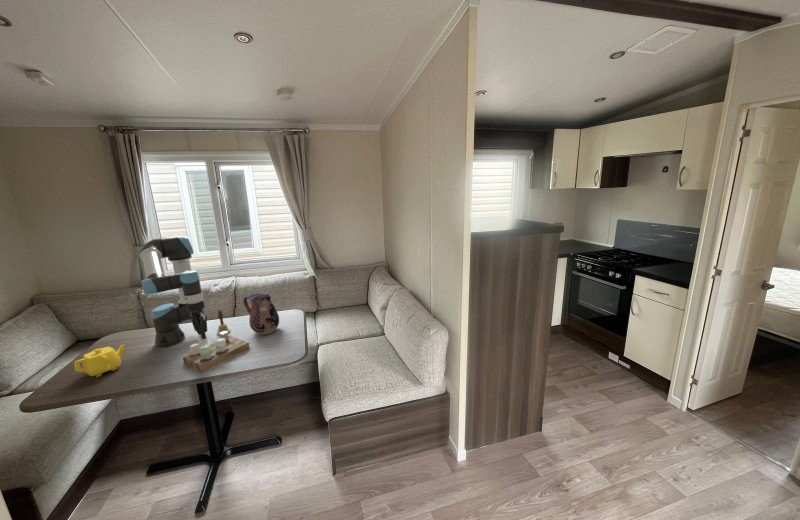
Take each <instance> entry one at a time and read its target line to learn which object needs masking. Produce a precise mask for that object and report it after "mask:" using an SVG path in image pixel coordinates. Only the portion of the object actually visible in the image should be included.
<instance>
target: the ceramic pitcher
mask: <svg viewBox="0 0 800 520" xmlns="http://www.w3.org/2000/svg"><path fill="white" fill-rule="evenodd" d="M269 293H270V292H268V291H267V292H259V293H255V294H251V295H250V294H249V295H246V296H244V298H243V301H242V302H243V305H244V307H245V309H246V311H247V312H248V313H249V317H248V318H249V319H248V321H249V326H250V329H251V330H252V331H253V332H254V333H256V334H257V335H259V336H260V335H261V336H262V335H264V336H265V335H269V334H272V333H273V332H275V331H276V329H277V328H278V327H279V324H280V315H279V313H278V311H277V309H276V307H275V306H274V304H273V302H272V300H271V295H269ZM248 300H249V301H250V302H251V307H250V306H249V303H248Z"/></svg>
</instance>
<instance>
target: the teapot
mask: <svg viewBox="0 0 800 520" xmlns="http://www.w3.org/2000/svg"><path fill="white" fill-rule="evenodd" d="M125 347H126V344H121V345H120V346H119V348H118V349H117V351H116V350H115V349H114V348H113V347H111V346H105V347H100V348H96V349H93V350H91V351H90V352H88V353H86V354H85V353H84V355H83V358H81V359H77V360H74V371H75V372H81V373H86V375H88V376H91V377H95V376H96V377H95V378H99V376H100V377H102V376H103V373H106V372H108V371H111V372H113V371H117V370H118V367H119V366H121V364H122V360H121V359H122V356H123V353H124V351H125ZM81 363H82V366H81ZM116 369H117V370H116ZM101 375H102V376H101Z"/></svg>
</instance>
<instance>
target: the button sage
mask: <svg viewBox="0 0 800 520" xmlns="http://www.w3.org/2000/svg"><path fill="white" fill-rule="evenodd" d="M199 351H200V356H201V357H205V356H208V355H210V354H211V353H212V352H211V347H210V344H205V345H200V346H199Z"/></svg>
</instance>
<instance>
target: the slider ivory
mask: <svg viewBox="0 0 800 520" xmlns="http://www.w3.org/2000/svg"><path fill="white" fill-rule="evenodd" d="M199 344H200V343H197V342H194V343H193V344H191V345H189V350H190V353H192V355H197V354H199V353H200V351H199V348H200V345H199Z"/></svg>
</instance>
